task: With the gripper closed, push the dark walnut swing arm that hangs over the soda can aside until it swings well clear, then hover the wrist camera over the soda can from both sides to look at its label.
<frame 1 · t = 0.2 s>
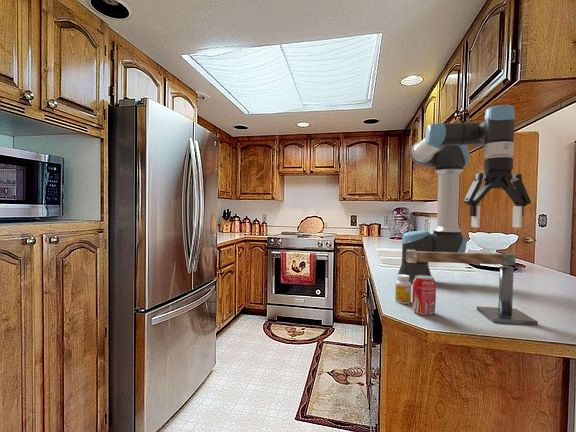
hand: (496, 227, 99), 29 cm above the counter, fingers open, 13 cm apart
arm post: (505, 317, 102), on the counter
swing arm: (459, 257, 103), point 18 cm above the counter, hinge at 0.0°
supplement bottle: (402, 302, 117), on the counter
soda can: (423, 313, 105), on the counter
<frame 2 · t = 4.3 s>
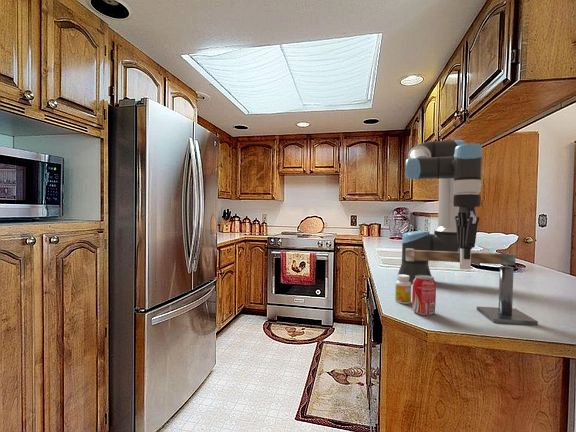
hand: (465, 269, 101), 15 cm above the counter, fingers closed
swing arm: (458, 256, 105), point 18 cm above the counter, hinge at -6.7°, touching gripper
everything else where it was.
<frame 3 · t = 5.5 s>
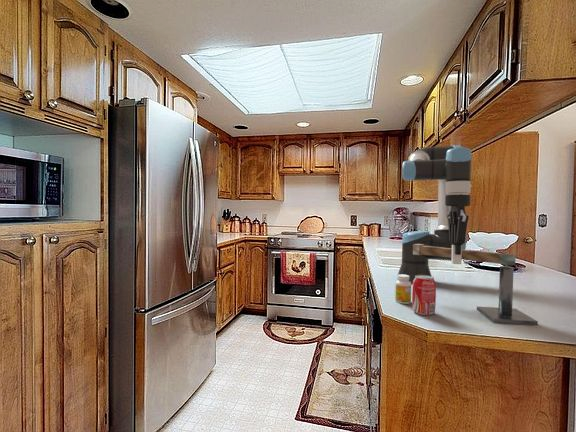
hand: (456, 263, 109), 16 cm above the counter, fingers closed
swing arm: (459, 254, 111), point 18 cm above the counter, hinge at -39.0°, touching gripper
everything else where it was.
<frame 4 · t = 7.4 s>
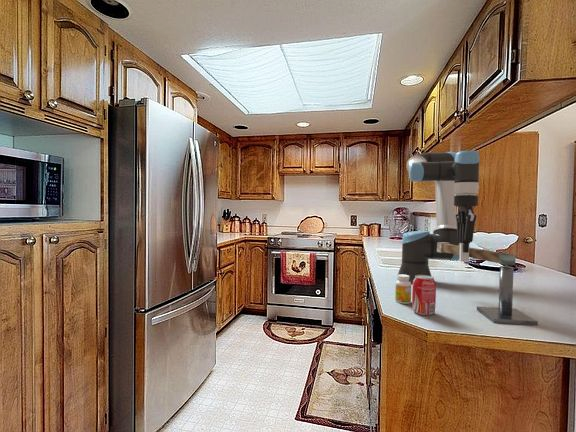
hand: (464, 261, 114), 16 cm above the counter, fingers closed
swing arm: (472, 252, 115), point 18 cm above the counter, hinge at -67.9°, touching gripper
everything else where it was.
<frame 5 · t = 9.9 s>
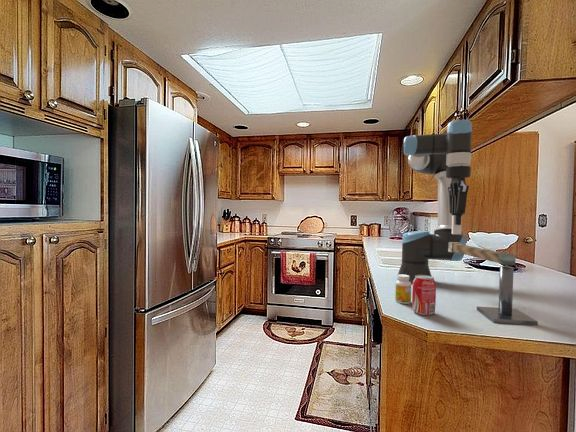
hand: (456, 234, 112), 25 cm above the counter, fingers closed
swing arm: (478, 252, 115), point 18 cm above the counter, hinge at -77.8°
everything else where it was.
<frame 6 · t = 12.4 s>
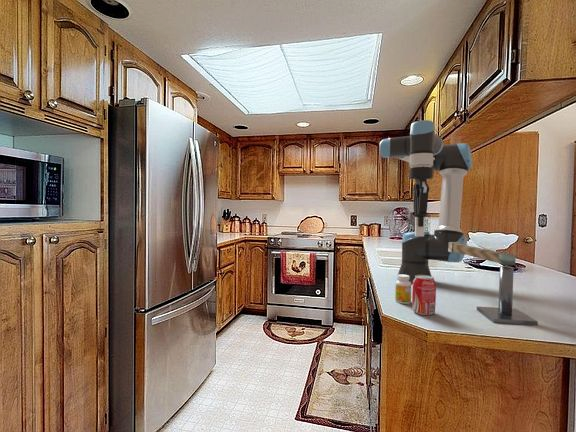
hand: (419, 236, 110), 25 cm above the counter, fingers closed
nothing on the counter moved.
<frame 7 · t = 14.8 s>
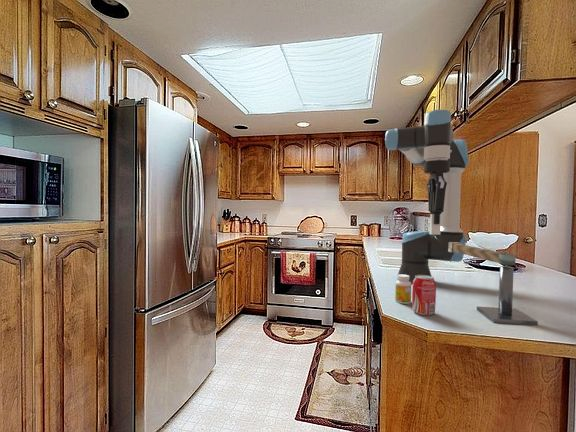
hand: (435, 234, 103), 26 cm above the counter, fingers closed
nothing on the counter moved.
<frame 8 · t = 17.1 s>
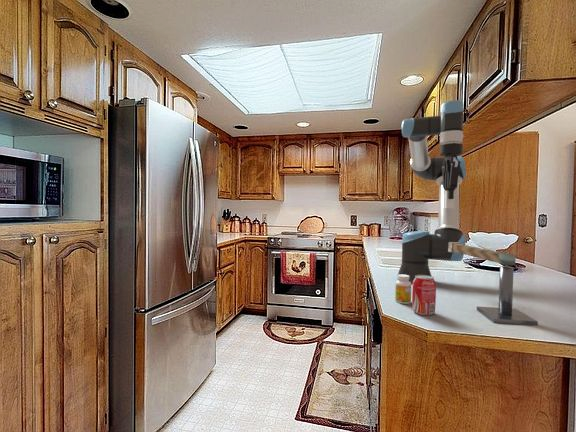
hand: (449, 208, 119), 34 cm above the counter, fingers closed
nothing on the counter moved.
at the end: swing arm at -78° (first picture: +0°); soda can moved 0.2 cm from its start; soda can tilted 0° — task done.
